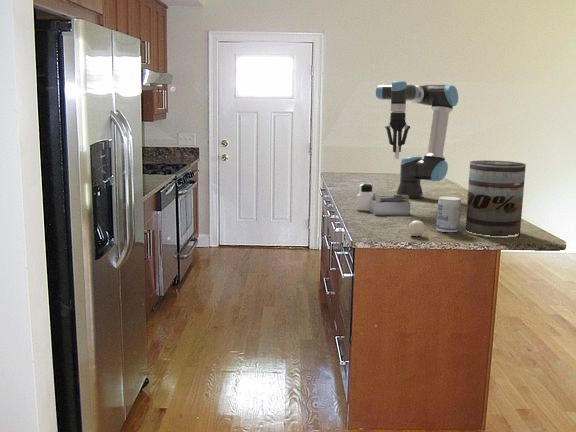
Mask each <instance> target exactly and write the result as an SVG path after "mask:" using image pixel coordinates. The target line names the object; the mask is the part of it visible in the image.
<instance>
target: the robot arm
mask: <svg viewBox="0 0 576 432" xmlns="http://www.w3.org/2000/svg"><path fill="white" fill-rule="evenodd" d="M375 96H376V98H377V99H378V100H382V101H383V100H390V115H389V116H390V117H389V119H390V121H389V122H388V123H389V124H388V125H386V126H385V127H384V128H385V130H386V134H387V139H388V142H389V145H391V146H392V152H393V153H394V159H395V160H400V175H399V179H400V180H399V185H398V187H397V190H396V194H395V195H399V194H400V195H407V196H409V199H420V198H423V197H424V192H423V188H422V185H421V181H432V182H441V181H443V180H444V179H445V177H446V176H447V173H448V169H449V166H448V165H449V163H448V162H447V161H446V157H445V156H444V148H445V141H446V137H447V130H448V123H449V116H450V113H451V112H452V111H453V108H454V107H456V106H458V105H457V104H458V103H459V102H458V101H459V93H458V89H457V87H456V86H454V85H452V84H447V83H446V84H424V85H414V84H407V81H404V80H402V81H401V80H399V81H398V80H397V81H395V80H394V81H392V82H391V84H379V85H378V86H376V89H375ZM407 101H408V102H411V103H414V104H420V105H424V106H431V109H432V111H433V114H432V121H431V125H430V127H431V128H430V133H429V141H428V145H427V146H428V147H427V152H426V153H425V154H424V155H423V157H422V155H421V156H420V155H419V156H418V155H417V156H408V157H406V156H405V157H402V159H399V158H400V153H401V152H402V146H404V145H405V144H406V141H407V136H408V132H409V130H410V129H411V126H410V125H408V124H407V122H406V114H407V113H406V111H407V110H406V107H407V106H406V105H407ZM391 129H392V132H391ZM403 130H404V131H403ZM402 133H403V134H402Z"/></svg>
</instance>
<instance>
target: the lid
mask: <svg viewBox="0 0 576 432" xmlns="http://www.w3.org/2000/svg"><path fill="white" fill-rule="evenodd" d="M387 196H388V197H380V201H386V200H398V199H405V196H407V195H400V194H399V195H396V194H393V195H387ZM375 198H376V197H375Z"/></svg>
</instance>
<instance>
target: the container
mask: <svg viewBox="0 0 576 432" xmlns="http://www.w3.org/2000/svg"><path fill="white" fill-rule="evenodd" d="M358 192H359V193H358V194H356V200H355V201H356V204H355V207H356V208H355V210H356V211H367V212H369V203H370V200H372V196H373V184H370V183H361V184H359V189H358Z"/></svg>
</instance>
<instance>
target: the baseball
mask: <svg viewBox="0 0 576 432" xmlns="http://www.w3.org/2000/svg"><path fill="white" fill-rule="evenodd" d="M425 232H426V226H425V224H424V222H423V221H421V220H417V219H415V220H412V221H411V222H410V223H409V225H408V233H409V234H410V235H411V236H413V237H415V236H416V237H418V236H419V237H421V236H423V235H424V233H425Z"/></svg>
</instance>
